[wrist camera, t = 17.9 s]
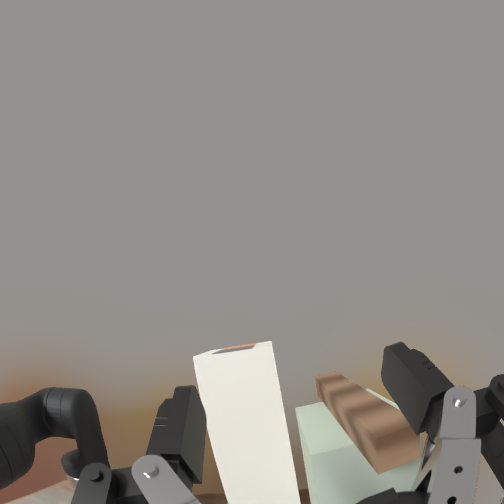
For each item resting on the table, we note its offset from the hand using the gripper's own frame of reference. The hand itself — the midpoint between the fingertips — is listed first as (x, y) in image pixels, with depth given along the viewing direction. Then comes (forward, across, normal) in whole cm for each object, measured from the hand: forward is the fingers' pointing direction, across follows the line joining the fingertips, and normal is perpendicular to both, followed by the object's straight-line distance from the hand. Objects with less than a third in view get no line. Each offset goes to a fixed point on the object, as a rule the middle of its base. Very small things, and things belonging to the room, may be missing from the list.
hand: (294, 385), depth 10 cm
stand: (+6, +5, +47) cm, 48 cm away
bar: (+9, -6, +15) cm, 19 cm away
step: (-5, -6, +41) cm, 41 cm away
